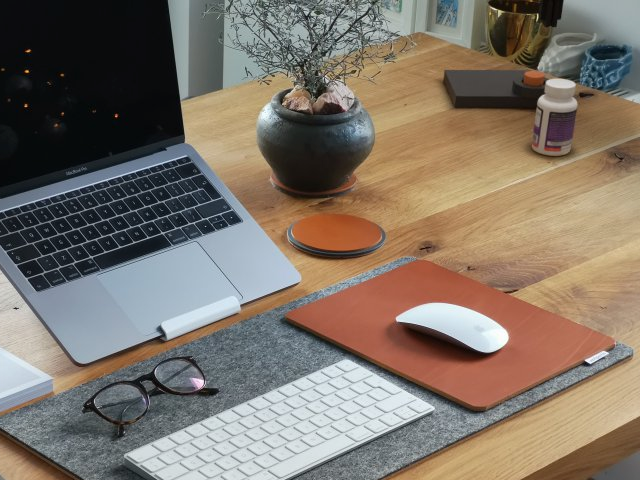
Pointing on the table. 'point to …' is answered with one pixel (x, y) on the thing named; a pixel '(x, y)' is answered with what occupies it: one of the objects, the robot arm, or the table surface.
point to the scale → (491, 89)
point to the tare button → (533, 78)
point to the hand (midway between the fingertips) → (548, 24)
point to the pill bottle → (555, 118)
